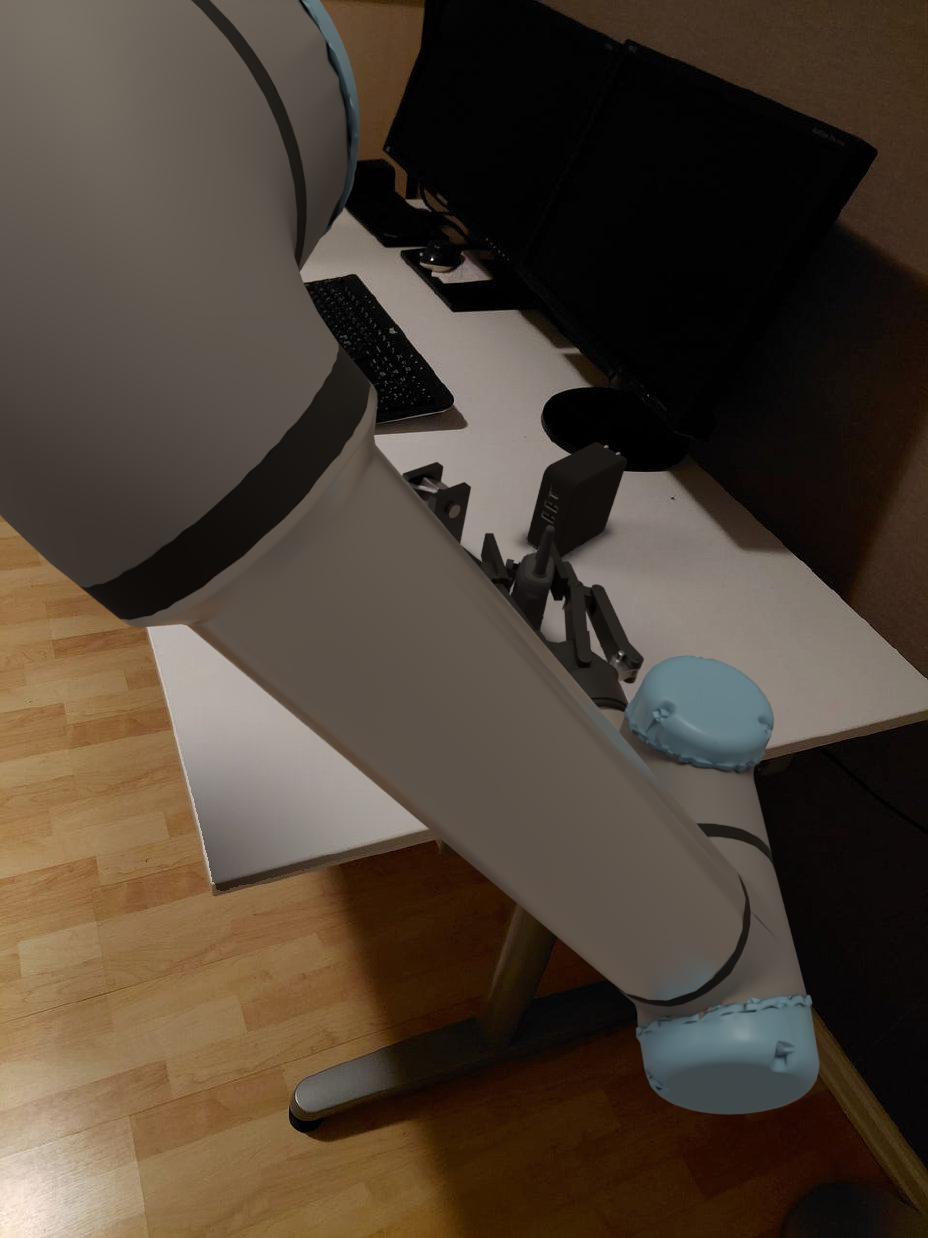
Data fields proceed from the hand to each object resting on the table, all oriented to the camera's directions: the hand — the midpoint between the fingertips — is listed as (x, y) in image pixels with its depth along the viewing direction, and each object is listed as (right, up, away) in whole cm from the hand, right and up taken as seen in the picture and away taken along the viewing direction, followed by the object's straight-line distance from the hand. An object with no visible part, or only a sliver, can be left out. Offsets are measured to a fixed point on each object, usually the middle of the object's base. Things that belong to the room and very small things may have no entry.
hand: (515, 545), depth 79 cm
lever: (-11, +4, -2) cm, 12 cm away
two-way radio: (0, -10, +2) cm, 10 cm away
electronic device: (+7, +2, +18) cm, 19 cm away
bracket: (-9, -2, +8) cm, 12 cm away
